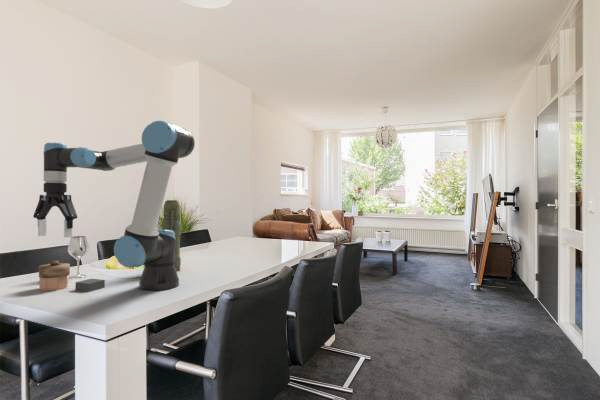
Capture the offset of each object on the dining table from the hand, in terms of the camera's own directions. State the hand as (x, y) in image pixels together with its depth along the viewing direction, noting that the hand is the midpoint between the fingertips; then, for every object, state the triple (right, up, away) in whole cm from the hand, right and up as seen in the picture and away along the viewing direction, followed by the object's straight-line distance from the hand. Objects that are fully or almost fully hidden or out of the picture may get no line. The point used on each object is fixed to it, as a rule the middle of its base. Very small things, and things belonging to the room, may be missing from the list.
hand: (54, 236), depth 140 cm
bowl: (0, -20, 0) cm, 20 cm away
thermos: (+32, -21, +37) cm, 53 cm away
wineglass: (-4, -21, +21) cm, 30 cm away
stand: (+14, -20, 0) cm, 25 cm away
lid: (0, -15, 0) cm, 15 cm away
